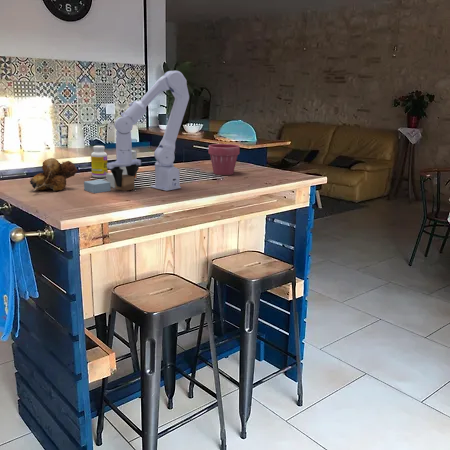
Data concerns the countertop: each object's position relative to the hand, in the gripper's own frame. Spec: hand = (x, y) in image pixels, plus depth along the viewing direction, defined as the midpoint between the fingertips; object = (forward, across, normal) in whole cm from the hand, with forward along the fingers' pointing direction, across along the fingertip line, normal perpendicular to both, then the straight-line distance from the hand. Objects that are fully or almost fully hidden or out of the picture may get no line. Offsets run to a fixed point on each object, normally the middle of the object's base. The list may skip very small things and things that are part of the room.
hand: (124, 185), depth 191 cm
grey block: (+2, -1, -7) cm, 7 cm away
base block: (+2, +9, -5) cm, 10 cm away
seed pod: (+2, +20, -18) cm, 27 cm away
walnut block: (+1, 0, 0) cm, 1 cm away
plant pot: (+2, -54, +3) cm, 54 cm away
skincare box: (+2, -13, -14) cm, 19 cm away
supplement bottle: (+2, -8, -27) cm, 28 cm away
